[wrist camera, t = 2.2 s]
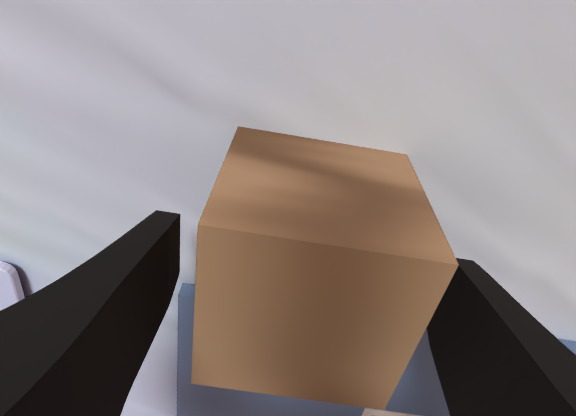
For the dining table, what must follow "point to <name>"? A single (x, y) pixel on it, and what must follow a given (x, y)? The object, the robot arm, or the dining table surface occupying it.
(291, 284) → the walnut block
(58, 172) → the dining table surface
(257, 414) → the board
